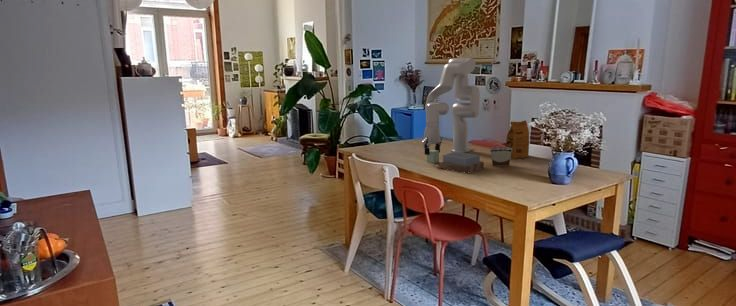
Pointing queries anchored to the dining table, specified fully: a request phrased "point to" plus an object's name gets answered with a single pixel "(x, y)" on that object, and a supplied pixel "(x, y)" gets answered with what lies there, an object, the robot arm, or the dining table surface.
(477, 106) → the robot arm
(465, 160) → the top block
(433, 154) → the sage block
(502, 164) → the food container
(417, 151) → the dining table surface
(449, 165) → the base block
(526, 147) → the coffee package
